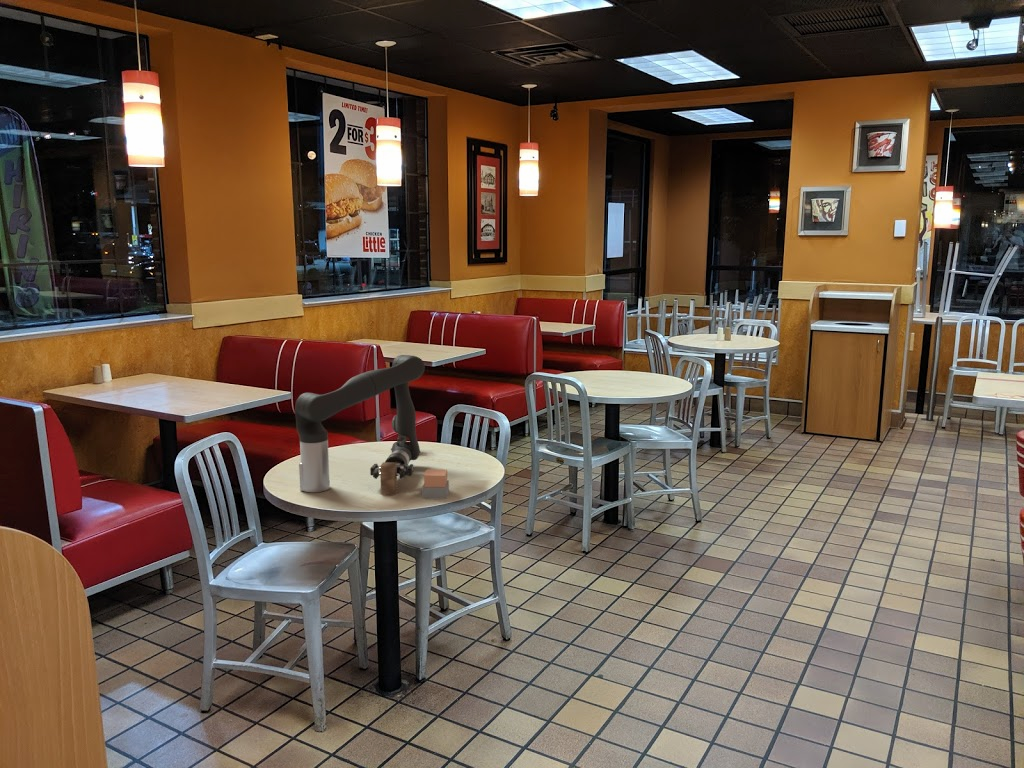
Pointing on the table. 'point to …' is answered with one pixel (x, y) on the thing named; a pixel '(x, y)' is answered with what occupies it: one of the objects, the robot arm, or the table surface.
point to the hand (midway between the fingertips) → (388, 476)
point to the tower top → (435, 478)
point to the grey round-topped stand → (394, 427)
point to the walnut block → (388, 478)
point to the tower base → (435, 491)
